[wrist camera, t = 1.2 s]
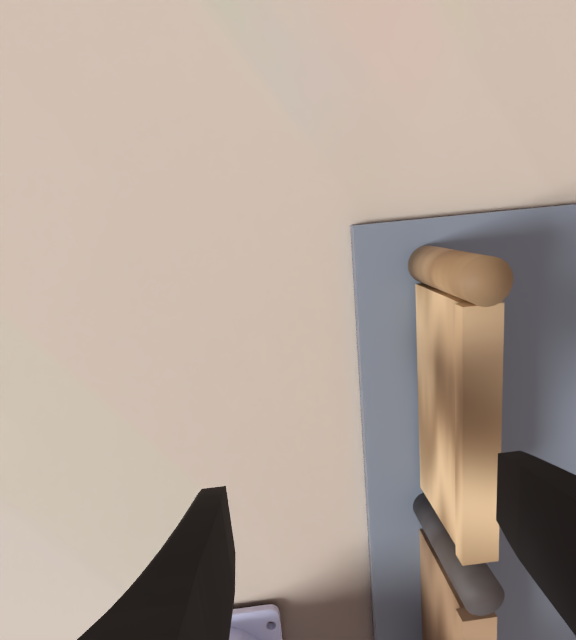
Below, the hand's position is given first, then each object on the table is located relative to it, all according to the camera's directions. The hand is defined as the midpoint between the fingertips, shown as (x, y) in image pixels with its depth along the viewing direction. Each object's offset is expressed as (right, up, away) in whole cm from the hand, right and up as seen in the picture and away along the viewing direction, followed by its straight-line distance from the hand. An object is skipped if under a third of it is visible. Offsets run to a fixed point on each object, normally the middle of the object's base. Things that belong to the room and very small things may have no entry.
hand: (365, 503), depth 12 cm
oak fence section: (+4, +2, +9) cm, 10 cm away
